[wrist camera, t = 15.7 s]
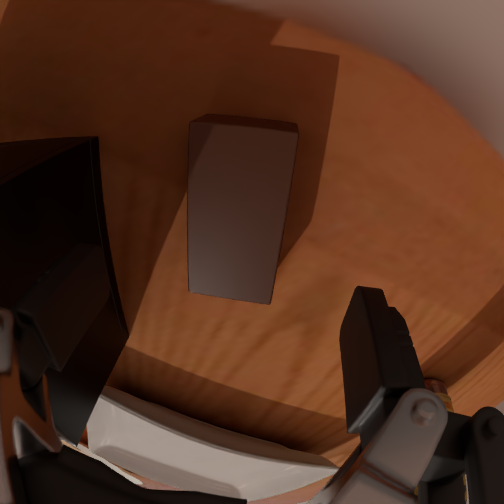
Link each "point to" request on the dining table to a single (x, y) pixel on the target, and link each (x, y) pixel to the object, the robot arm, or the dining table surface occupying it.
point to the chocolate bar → (237, 204)
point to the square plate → (195, 451)
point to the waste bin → (53, 248)
